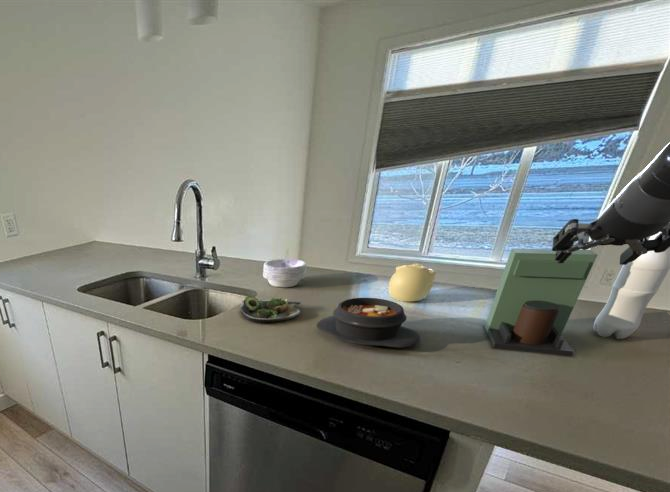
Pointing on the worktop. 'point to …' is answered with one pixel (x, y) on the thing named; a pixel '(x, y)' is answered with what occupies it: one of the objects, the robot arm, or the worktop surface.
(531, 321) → the brown cylinder canister
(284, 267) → the paper bowls
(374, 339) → the casserole
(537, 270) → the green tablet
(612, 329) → the water bottle
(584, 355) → the worktop surface
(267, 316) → the salad plate
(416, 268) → the pale yellow rounded lump
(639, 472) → the worktop surface
